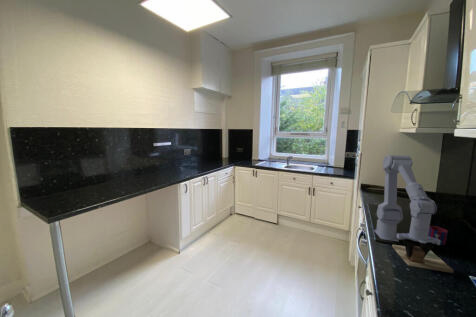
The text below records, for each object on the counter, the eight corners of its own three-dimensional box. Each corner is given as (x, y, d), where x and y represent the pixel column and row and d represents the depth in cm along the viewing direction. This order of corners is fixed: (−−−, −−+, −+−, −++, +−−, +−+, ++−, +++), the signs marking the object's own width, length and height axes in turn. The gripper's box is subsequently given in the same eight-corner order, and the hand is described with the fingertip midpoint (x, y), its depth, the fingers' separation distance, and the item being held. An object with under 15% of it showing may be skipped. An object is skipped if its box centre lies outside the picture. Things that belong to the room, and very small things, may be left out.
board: (392, 246, 95) (392, 243, 95) (429, 252, 91) (430, 249, 91) (408, 265, 82) (408, 262, 82) (453, 273, 78) (453, 269, 78)
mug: (426, 240, 101) (428, 228, 100) (428, 234, 107) (430, 222, 106) (445, 246, 96) (447, 233, 95) (446, 239, 102) (448, 227, 101)
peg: (406, 257, 87) (408, 245, 86) (416, 259, 86) (418, 246, 85) (411, 263, 83) (413, 250, 82) (422, 265, 82) (424, 252, 81)
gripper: (404, 229, 80) (399, 259, 82) (448, 234, 77) (442, 266, 78) (395, 221, 87) (391, 249, 89) (435, 226, 83) (430, 255, 85)
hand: (414, 256), depth 84 cm, fingers closed on peg, 4 cm apart
